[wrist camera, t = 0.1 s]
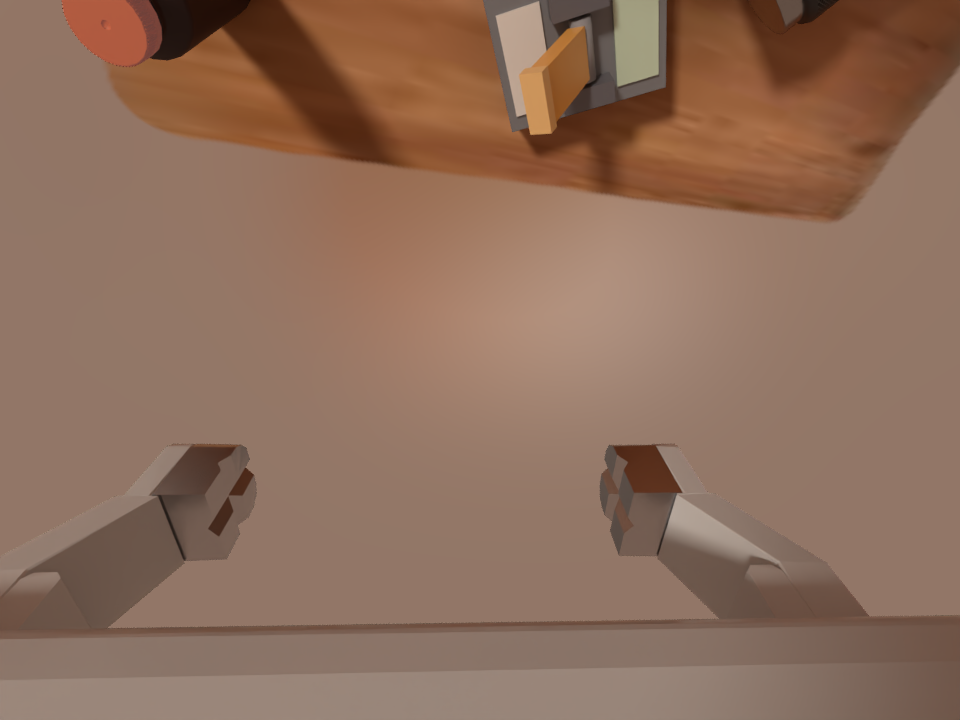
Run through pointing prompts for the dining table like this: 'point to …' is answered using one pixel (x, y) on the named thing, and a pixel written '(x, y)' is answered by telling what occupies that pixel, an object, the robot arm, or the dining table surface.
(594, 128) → the dining table surface
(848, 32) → the dining table surface
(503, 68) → the panel
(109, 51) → the bottle
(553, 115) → the lever
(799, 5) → the muzzle brake
